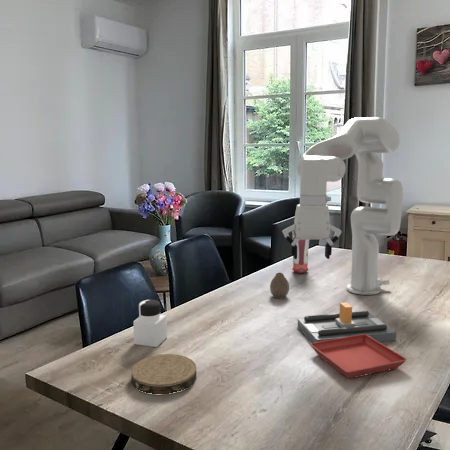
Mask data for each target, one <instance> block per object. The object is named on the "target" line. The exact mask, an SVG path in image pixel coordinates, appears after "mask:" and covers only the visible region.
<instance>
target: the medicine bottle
mask: <svg viewBox="0 0 450 450" xmlns="http://www.w3.org/2000/svg"><path fill="white" fill-rule="evenodd" d="M138 313H139V314H138V315H139V316H138V317H137V318H136V319H135V320H133V323H132V324H133V338H134V339H133V341H134V345H138V346H143V347H150V348H151V347H152V348H157V347H159V345H160V344H162V343H163V342H164V341H165V340H166V339H168V329H167V327H168V326H167V324H168V323H167V315H165V314H161V302H160V301H158V300H156V299H146V300H142V301H140V302H139V304H138Z"/></svg>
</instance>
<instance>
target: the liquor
mask: <svg viewBox="0 0 450 450" xmlns="http://www.w3.org/2000/svg"><path fill="white" fill-rule="evenodd" d="M291 233H292V234H291V235H292V238H293V237H294V236H295V235H294V230H293V231H291ZM296 245H297V259H294V258H293V257H292V265H293V267H292V268H291V270H292V271H293V272H295V274H303V275H304V274H305V273H307V272H308V271H309V268H308V266H309V265H308V262H309V261H308V260H309V249H310V247H309V246H310V240H301V239H300V240H299V241H298V243H297V244H296Z"/></svg>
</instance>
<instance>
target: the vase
mask: <svg viewBox="0 0 450 450" xmlns="http://www.w3.org/2000/svg"><path fill="white" fill-rule="evenodd" d="M289 290H290V283H289V281H288V279H287V278H286V276H285V275H284V273H283V272H276V273H275V276H274V277H273V278H272V279H271V281H270V283H269V291H270V293H271V295H272V296H273V297H274V298H275V299H284V298H286V297H287V295H289Z"/></svg>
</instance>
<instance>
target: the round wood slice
mask: <svg viewBox="0 0 450 450" xmlns="http://www.w3.org/2000/svg"><path fill="white" fill-rule="evenodd" d="M130 375H131V385H132V384H133V385H132V386H133V387H135V388H137V389H138V390H140V391H143V392H146V393H152V394H169V393H173V392H177V391H181V390H184V389H186V388H188V389H190V388H191V387H192V386H193V385H194V384H196V380H197V377H198V376H197V364H196V362H195V361H194V360H193V359H191V358H189V357H187V356H183V355H180V354H172V353H165V354H154V355H152V356H148V357H144V358H143V359H140V360H139V361H137V362H135V363H134V365H133V366H132V368H131V372H130ZM191 385H192V386H191ZM190 386H191V387H190ZM189 387H190V388H189ZM135 388H134V389H135ZM137 389H136V390H137ZM138 390H137V391H138ZM186 390H187V389H186ZM140 391H139V392H140ZM184 391H185V390H184ZM146 393H145V394H146Z"/></svg>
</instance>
